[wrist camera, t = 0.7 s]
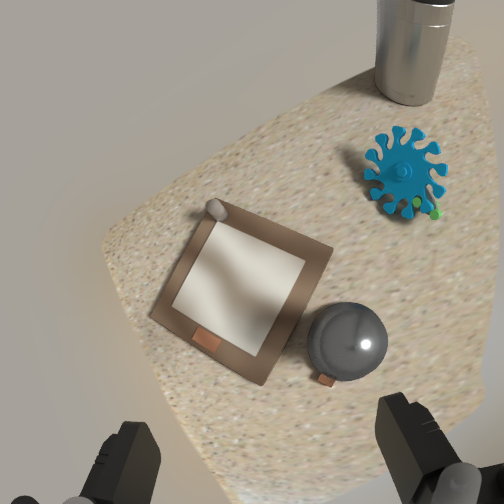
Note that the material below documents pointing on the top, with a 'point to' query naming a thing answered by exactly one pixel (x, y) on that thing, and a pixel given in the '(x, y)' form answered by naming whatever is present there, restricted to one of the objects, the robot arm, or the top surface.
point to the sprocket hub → (346, 342)
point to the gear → (407, 174)
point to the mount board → (241, 288)
